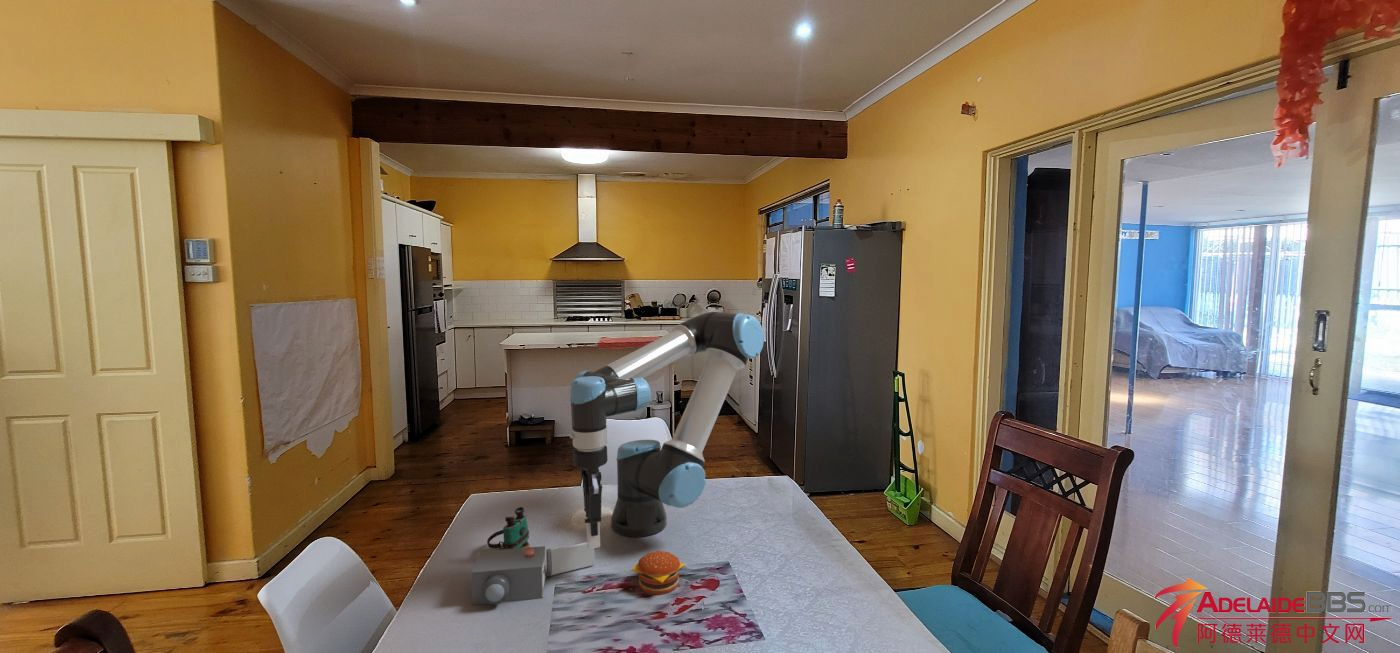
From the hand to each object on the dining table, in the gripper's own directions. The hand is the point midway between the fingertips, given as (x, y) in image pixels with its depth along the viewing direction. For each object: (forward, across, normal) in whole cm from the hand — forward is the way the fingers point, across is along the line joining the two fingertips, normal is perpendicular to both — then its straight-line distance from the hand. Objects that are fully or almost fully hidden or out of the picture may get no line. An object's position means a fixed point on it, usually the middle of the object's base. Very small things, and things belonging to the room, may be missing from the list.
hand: (593, 546), depth 128 cm
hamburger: (+7, +9, +13) cm, 17 cm away
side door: (+6, -3, -5) cm, 9 cm away
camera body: (+6, +1, -18) cm, 19 cm away
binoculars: (+7, -17, -18) cm, 26 cm away
